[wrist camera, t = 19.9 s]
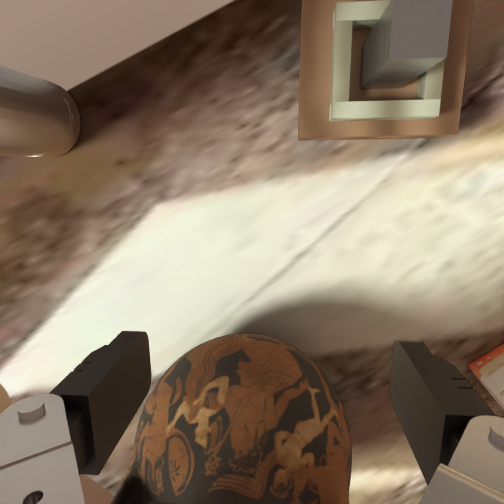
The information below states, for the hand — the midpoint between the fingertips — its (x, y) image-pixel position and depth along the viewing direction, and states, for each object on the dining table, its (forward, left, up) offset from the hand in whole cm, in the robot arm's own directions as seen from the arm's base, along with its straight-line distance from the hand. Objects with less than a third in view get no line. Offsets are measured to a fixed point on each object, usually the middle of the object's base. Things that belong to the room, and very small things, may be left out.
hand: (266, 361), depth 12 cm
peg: (+10, +15, -30) cm, 35 cm away
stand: (+10, +15, -36) cm, 41 cm away
